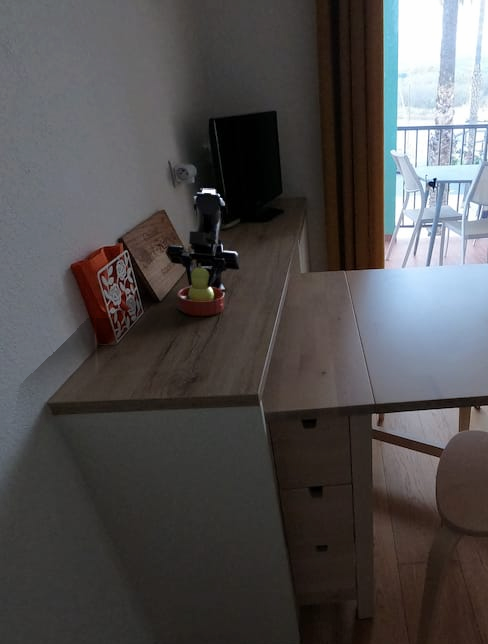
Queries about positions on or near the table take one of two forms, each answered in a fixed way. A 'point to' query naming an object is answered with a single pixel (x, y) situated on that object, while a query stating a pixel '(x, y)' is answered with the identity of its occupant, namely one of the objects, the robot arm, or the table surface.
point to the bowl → (201, 303)
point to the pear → (200, 285)
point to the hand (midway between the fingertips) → (199, 285)
